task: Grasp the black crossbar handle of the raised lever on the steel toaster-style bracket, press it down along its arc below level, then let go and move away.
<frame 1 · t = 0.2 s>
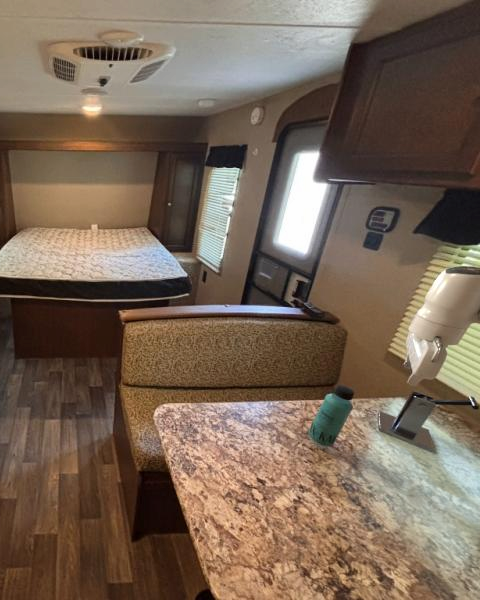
hand: (409, 375, 83), 25 cm above the table, tool pointing down, fingers open, 8 cm apart
beverage bottle: (318, 442, 94), on the table
lever: (444, 402, 91), point 14 cm above the table, hinge at 30.0°
bracket: (402, 431, 99), on the table
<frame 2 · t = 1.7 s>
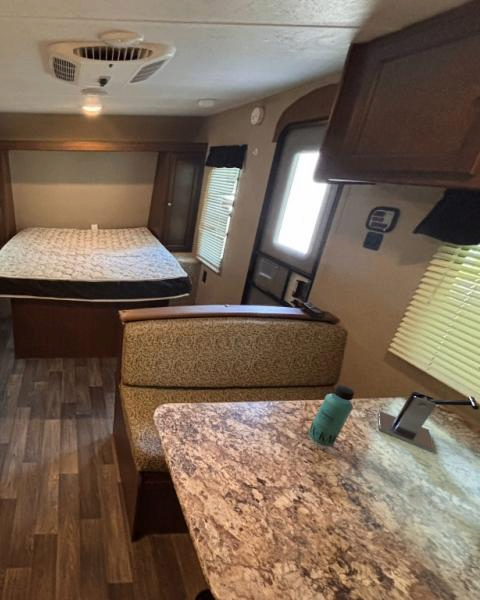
nothing on the table moved.
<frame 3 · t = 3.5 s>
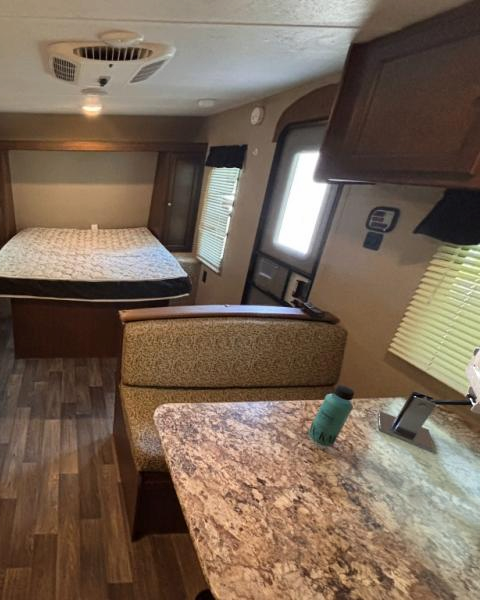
hand: (471, 405, 88), 16 cm above the table, tool pointing down, fingers closed on lever, 5 cm apart
lever: (444, 402, 91), point 14 cm above the table, hinge at 30.0°, touching gripper
everything else where it was.
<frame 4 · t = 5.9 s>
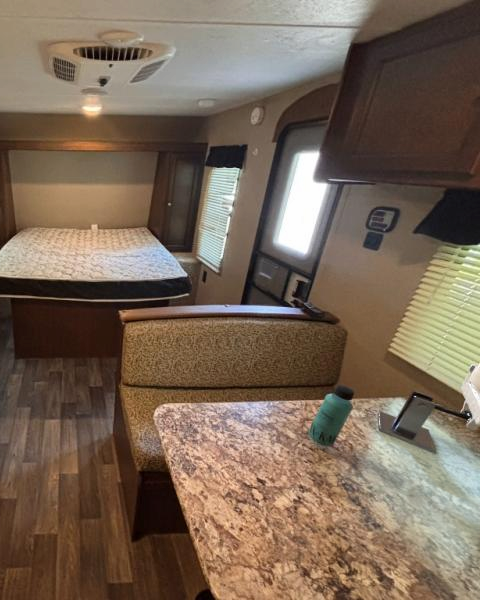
hand: (467, 421, 89), 11 cm above the table, tool pointing down, fingers closed on lever, 5 cm apart
lever: (443, 409, 92), point 12 cm above the table, hinge at 0.4°, touching gripper
everything else where it was.
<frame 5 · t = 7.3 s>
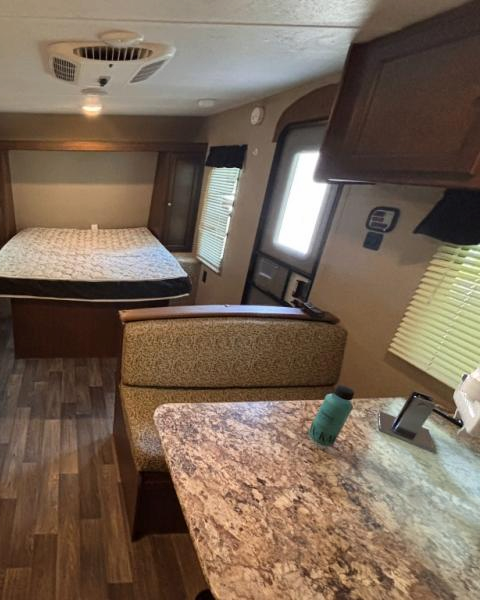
hand: (458, 429, 91), 8 cm above the table, tool pointing down, fingers closed on lever, 5 cm apart
lever: (439, 412, 92), point 11 cm above the table, hinge at -17.7°, touching gripper
everything else where it was.
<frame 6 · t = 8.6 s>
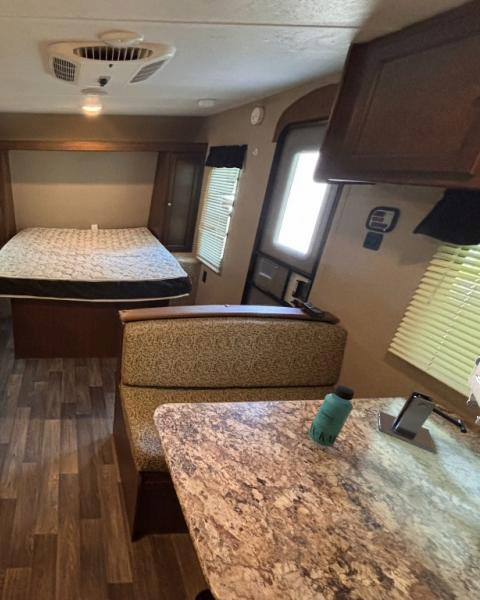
hand: (474, 415, 88), 14 cm above the table, tool pointing down, fingers open, 8 cm apart
lever: (439, 412, 92), point 11 cm above the table, hinge at -18.1°
everything else where it was.
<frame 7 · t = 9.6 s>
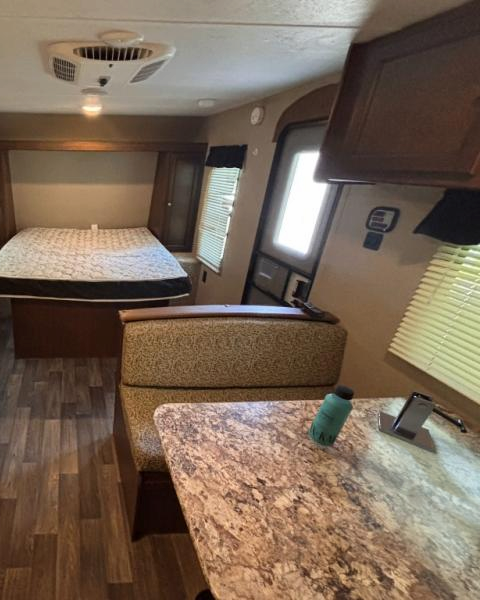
nothing on the table moved.
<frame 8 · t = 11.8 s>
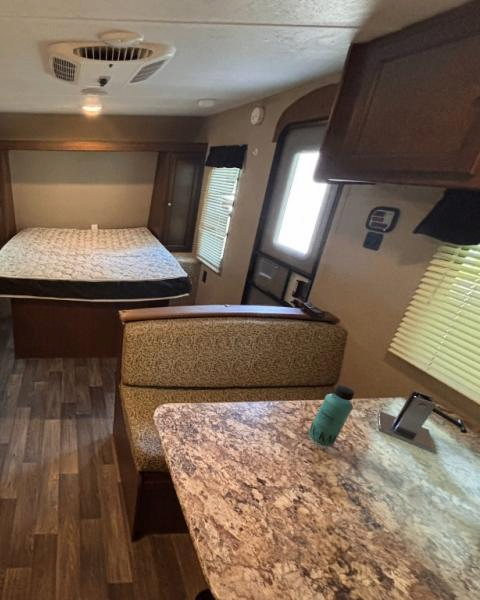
nothing on the table moved.
at the end: lever at -18° (first picture: +30°); the gripper is holding nothing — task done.
